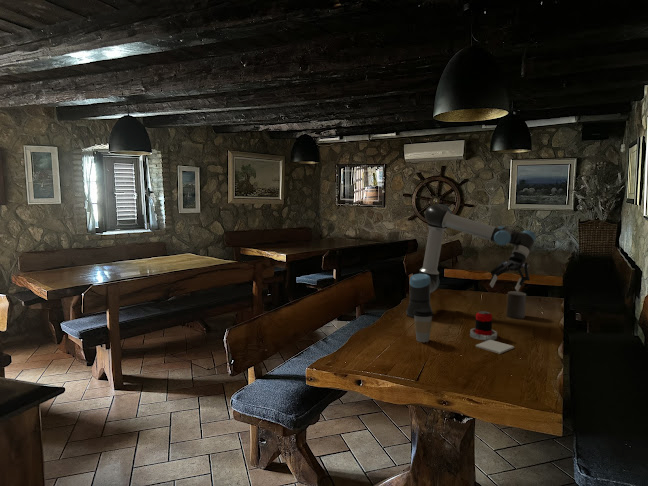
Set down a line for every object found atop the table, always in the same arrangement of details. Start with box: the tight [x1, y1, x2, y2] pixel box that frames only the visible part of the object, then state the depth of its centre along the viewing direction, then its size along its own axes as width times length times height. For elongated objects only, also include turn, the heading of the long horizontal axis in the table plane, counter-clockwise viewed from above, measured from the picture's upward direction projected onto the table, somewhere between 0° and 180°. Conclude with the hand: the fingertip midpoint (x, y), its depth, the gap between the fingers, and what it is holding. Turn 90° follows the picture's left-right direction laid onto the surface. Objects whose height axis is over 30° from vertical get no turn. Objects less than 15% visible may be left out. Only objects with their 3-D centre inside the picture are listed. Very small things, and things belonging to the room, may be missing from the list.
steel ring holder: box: [469, 327, 498, 341], centre depth 213 cm, size 12×12×2 cm
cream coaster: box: [475, 340, 515, 355], centre depth 198 cm, size 12×12×1 cm
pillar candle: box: [506, 290, 527, 320], centre depth 247 cm, size 10×10×15 cm
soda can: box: [474, 310, 493, 335], centre depth 213 cm, size 8×8×12 cm
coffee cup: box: [413, 308, 434, 344], centre depth 207 cm, size 9×9×15 cm
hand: (503, 287), depth 220 cm, fingers open, 13 cm apart
